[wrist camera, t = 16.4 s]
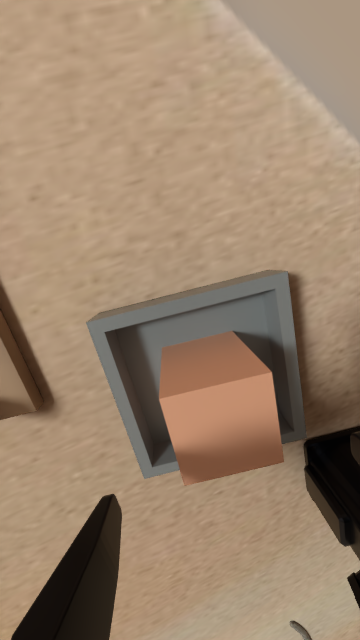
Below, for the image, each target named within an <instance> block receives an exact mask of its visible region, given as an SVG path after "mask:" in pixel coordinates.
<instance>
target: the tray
mask: <svg viewBox="0 0 360 640" xmlns="http://www.w3.org/2000/svg"><path fill="white" fill-rule="evenodd" d="M86 324H87V327H88V329H89V332H90V335H91V337H92V340H93V343H94V345H95V348H96V351H97V353H98V356H99V359H100V361H101V364H102V367H103V369H104V372H105V375H106V377H107V380H108V383H109V385H110V388H111V391H112V394H113V396H114V399H115V402H116V404H117V407H118V410H119V412H120V415H121V418H122V420H123V423H124V426H125V428H126V431H127V434H128V436H129V439H130V442H131V444H132V447H133V450H134V452H135V455H136V458H137V460H138V463H139V466H140V468H141V471H142V474H143V477H144V479H146V478H150V477H154V476H158V475H162V474H166V473H170V472H174V471H178V470H180V469H179V465H178V462H177V459H176V455H175V452H174V448H173V445H172V442H171V438H170V435H169V431H168V428H167V425H166V421H165V418H164V414H163V411H162V408H161V404H160V401H159V390H160V372H161V355H162V347H166V346H171V345H175V344H179V343H183V342H187V341H192V340H196V339H200V338H204V337H208V336H212V335H217V334H221V333H225V332H229V331H233V332H234V333H235V335H236V336H237V337H238V338H239V339H240V340H241V341H242V342H243V343H244V344H245V345H246V346H247V347H248V348H249V349H250V350H251V351H252V352H253V353H254V354H255V355H256V356H257V357H258V358H259V359H260V360H261V361H262V362H263V363H264V364H265V365H266V366H267V367H268V369H269V370H270V371H271V372H272V376H273V384H274V391H275V399H276V406H277V413H278V421H279V428H280V436H281V443H282V444H285V443H289V442H293V441H297V440H301V439H305V438H307V435H306V426H305V417H304V409H303V400H302V391H301V383H300V374H299V366H298V357H297V348H296V340H295V331H294V323H293V314H292V305H291V297H290V288H289V279H288V271H276V270H266V271H262V272H258V273H254V274H250V275H246V276H242V277H239V278H235V279H231V280H227V281H223V282H219V283H215V284H211V285H207V286H203V287H199V288H195V289H192V290H188V291H184V292H180V293H176V294H172V295H168V296H164V297H160V298H156V299H152V300H148V301H145V302H141V303H137V304H133V305H129V306H125V307H121V308H117V309H113V310H109V311H105V312H101V313H99V314H97V315H96V316H94V317H93V318H92V319H90V320H89V321H88V322H86Z"/></svg>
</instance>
